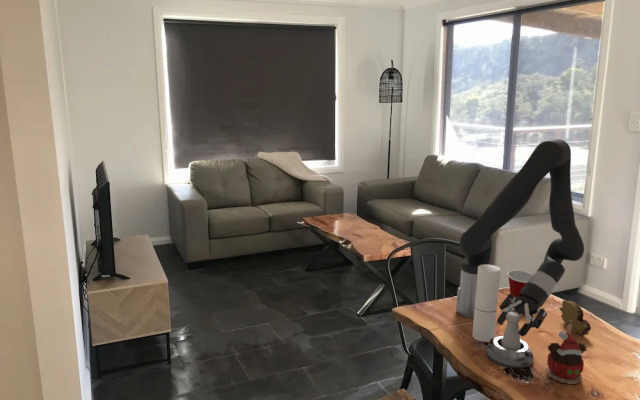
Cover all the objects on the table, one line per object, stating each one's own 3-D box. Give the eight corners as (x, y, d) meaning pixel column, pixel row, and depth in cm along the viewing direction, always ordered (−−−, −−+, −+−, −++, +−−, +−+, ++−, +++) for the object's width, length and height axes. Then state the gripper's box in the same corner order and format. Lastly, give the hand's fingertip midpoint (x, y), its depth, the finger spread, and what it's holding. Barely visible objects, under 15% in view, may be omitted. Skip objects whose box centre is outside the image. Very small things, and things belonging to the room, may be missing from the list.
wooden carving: (594, 339, 174) (598, 312, 172) (582, 340, 173) (586, 313, 171) (564, 318, 190) (567, 293, 188) (553, 319, 189) (556, 294, 187)
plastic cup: (514, 309, 197) (517, 280, 194) (499, 298, 207) (501, 271, 205) (539, 307, 199) (542, 279, 197) (523, 296, 210) (526, 269, 207)
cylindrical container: (494, 334, 177) (500, 266, 172) (493, 343, 171) (500, 273, 165) (472, 330, 180) (478, 263, 174) (471, 339, 173) (477, 270, 168)
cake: (572, 368, 156) (579, 313, 152) (589, 385, 147) (597, 328, 143) (538, 368, 156) (545, 314, 152) (553, 385, 147) (560, 328, 143)
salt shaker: (521, 356, 159) (525, 318, 157) (501, 354, 161) (505, 316, 158) (518, 347, 165) (521, 310, 162) (499, 345, 166) (503, 308, 163)
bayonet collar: (478, 357, 162) (479, 344, 161) (497, 341, 172) (498, 329, 171) (522, 373, 153) (524, 360, 152) (539, 356, 163) (540, 343, 162)
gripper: (515, 275, 167) (487, 314, 164) (552, 290, 155) (522, 332, 152) (525, 287, 170) (497, 325, 168) (562, 303, 158) (533, 345, 155)
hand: (509, 329), depth 160 cm, fingers open, 8 cm apart
